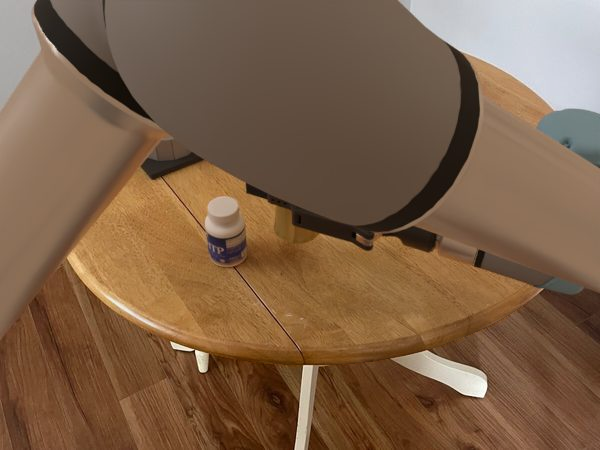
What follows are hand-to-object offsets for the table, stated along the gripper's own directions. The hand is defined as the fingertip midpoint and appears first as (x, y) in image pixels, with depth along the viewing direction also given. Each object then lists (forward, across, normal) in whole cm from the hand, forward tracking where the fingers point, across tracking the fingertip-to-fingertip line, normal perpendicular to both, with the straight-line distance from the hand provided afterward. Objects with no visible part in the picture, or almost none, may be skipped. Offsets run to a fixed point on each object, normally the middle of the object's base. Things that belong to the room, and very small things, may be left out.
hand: (259, 168), depth 72 cm
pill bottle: (+4, -3, -14) cm, 15 cm away
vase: (-5, 0, -8) cm, 10 cm away
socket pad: (+25, +14, -14) cm, 32 cm away
